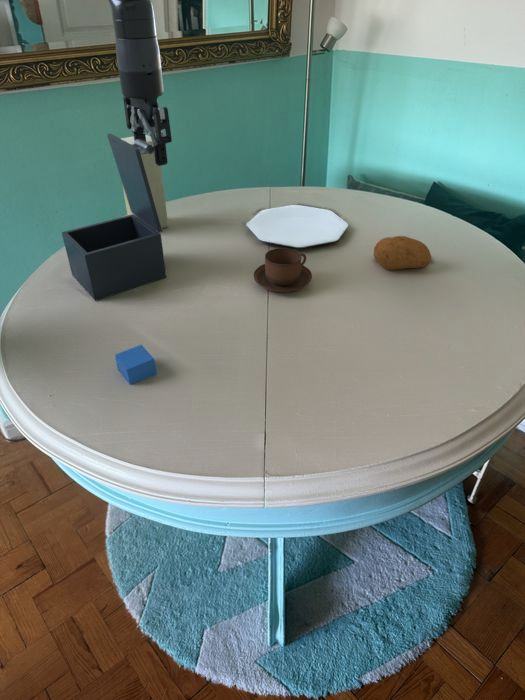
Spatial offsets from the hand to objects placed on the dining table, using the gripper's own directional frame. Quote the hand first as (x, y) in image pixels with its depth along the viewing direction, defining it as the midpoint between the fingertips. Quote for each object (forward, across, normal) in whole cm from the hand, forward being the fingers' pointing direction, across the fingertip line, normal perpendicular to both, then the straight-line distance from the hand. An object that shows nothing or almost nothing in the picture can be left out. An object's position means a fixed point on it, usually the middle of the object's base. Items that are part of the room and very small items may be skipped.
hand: (151, 159), depth 102 cm
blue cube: (+22, +34, -22) cm, 46 cm away
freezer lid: (+4, 0, -5) cm, 6 cm away
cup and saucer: (+23, +23, +15) cm, 36 cm away
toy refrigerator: (+23, -20, +6) cm, 31 cm away
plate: (+23, +4, +34) cm, 42 cm away
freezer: (+22, 0, -11) cm, 25 cm away
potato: (+23, +33, +40) cm, 57 cm away
